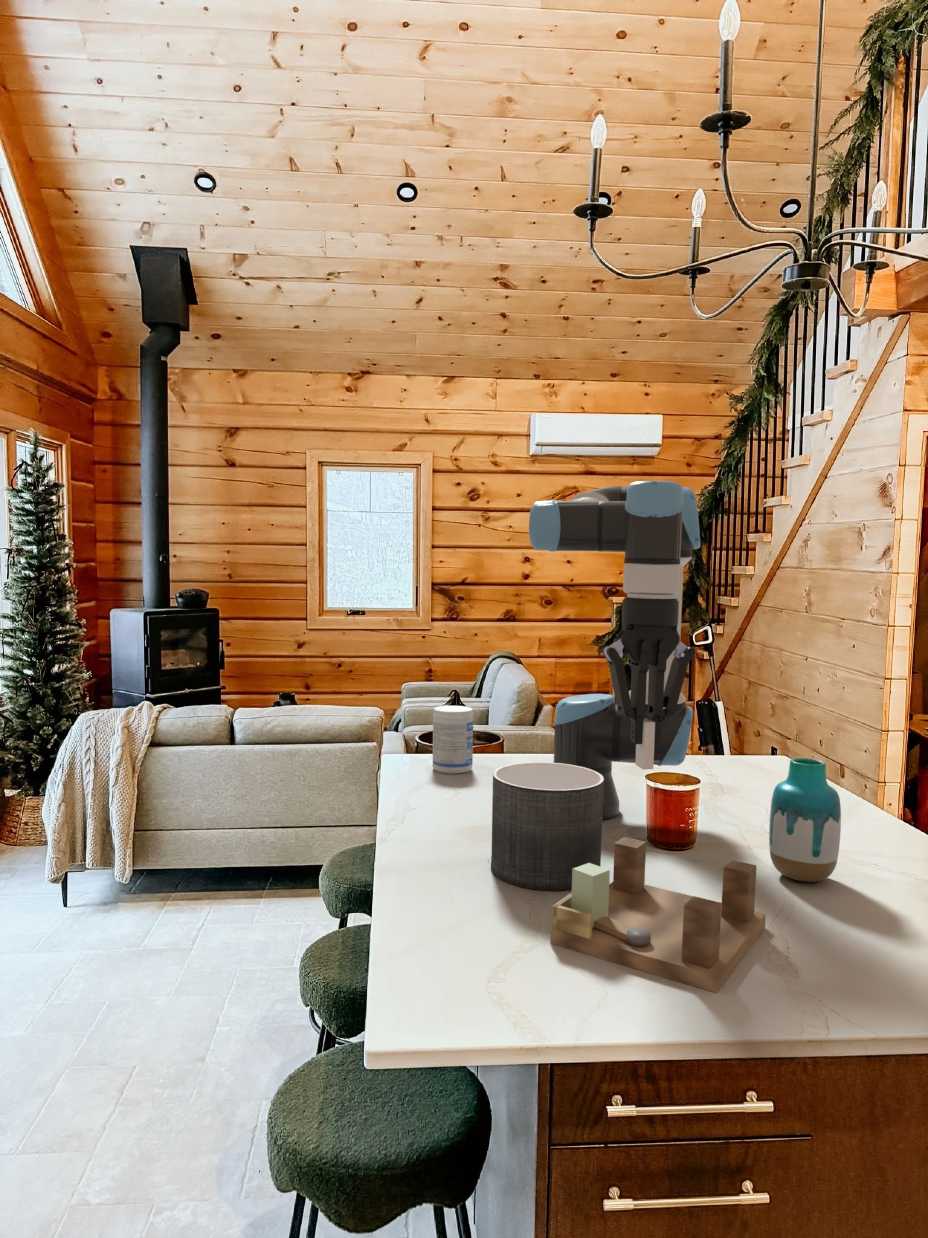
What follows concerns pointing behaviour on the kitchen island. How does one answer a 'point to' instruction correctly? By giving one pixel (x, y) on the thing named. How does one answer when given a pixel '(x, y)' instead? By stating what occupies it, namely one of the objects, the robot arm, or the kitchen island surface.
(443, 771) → the supplement tub
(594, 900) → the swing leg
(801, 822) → the vase
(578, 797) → the planter
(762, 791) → the kitchen island surface
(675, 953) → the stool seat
